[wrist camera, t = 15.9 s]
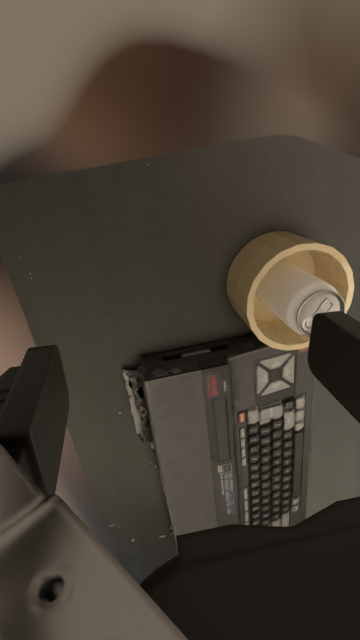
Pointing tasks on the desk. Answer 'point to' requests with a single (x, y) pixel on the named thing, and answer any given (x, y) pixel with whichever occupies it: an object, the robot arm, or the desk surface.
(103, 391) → the desk surface
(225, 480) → the vintage computer
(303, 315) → the can
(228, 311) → the desk surface
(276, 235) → the tan round bowl
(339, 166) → the desk surface
